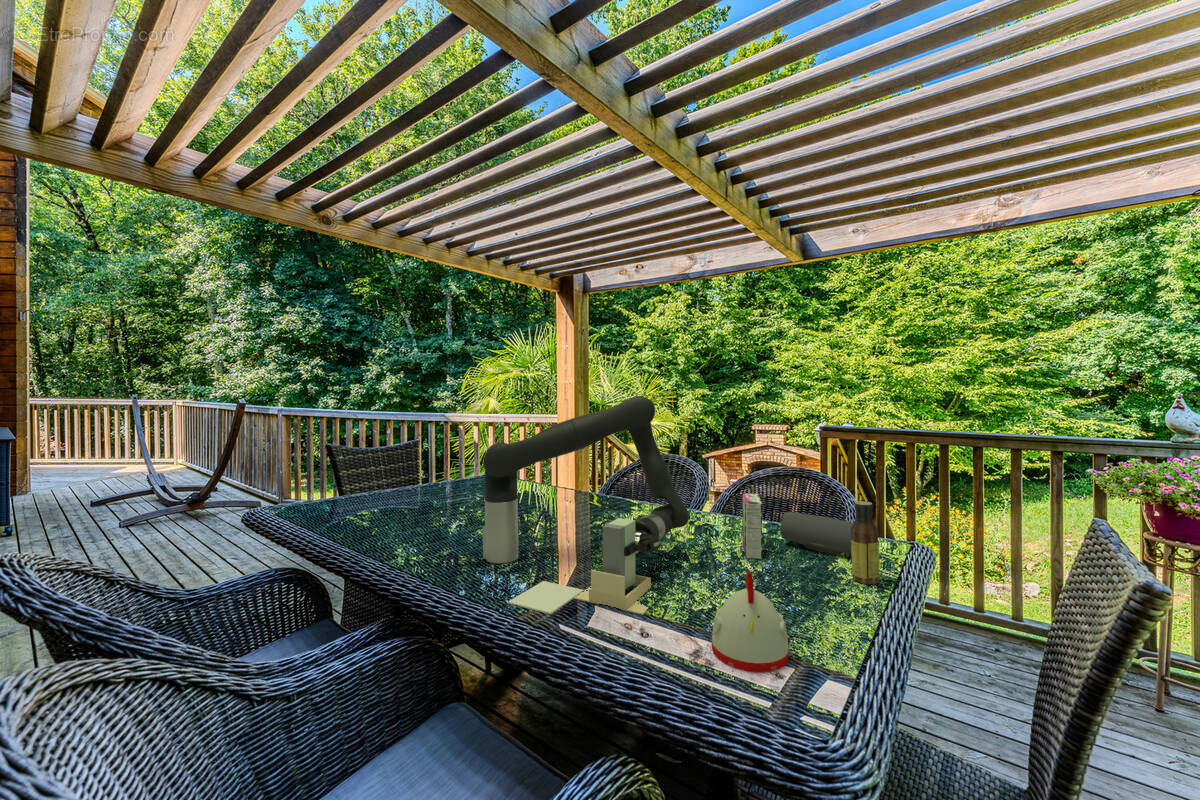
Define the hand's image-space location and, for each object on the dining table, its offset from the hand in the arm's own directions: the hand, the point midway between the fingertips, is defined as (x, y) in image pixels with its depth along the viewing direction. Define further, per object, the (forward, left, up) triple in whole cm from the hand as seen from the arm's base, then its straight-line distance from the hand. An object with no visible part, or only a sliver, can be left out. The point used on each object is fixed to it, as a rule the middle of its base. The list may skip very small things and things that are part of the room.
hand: (616, 550), depth 123 cm
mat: (-15, -7, -11) cm, 20 cm away
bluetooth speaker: (+38, +59, -12) cm, 71 cm away
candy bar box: (+20, +47, -12) cm, 52 cm away
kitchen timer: (+33, -9, -12) cm, 36 cm away
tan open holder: (0, +4, -11) cm, 12 cm away
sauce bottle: (+50, +39, -12) cm, 64 cm away
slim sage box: (0, +2, -9) cm, 9 cm away
